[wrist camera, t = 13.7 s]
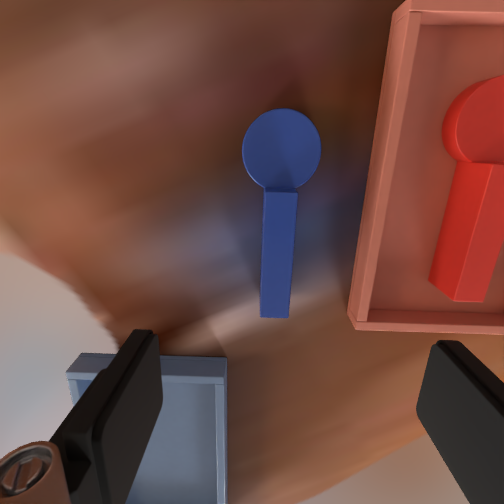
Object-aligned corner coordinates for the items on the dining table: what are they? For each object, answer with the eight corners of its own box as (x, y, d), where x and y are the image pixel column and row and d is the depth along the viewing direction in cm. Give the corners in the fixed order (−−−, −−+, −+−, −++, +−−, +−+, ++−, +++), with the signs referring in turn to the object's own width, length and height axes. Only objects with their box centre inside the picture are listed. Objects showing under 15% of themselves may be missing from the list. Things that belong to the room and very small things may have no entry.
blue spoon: (303, 296, 19) (309, 319, 17) (240, 295, 19) (238, 317, 17) (320, 111, 16) (332, 105, 13) (243, 109, 16) (241, 103, 13)
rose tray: (392, 12, 14) (411, -7, 12) (611, 17, 14) (663, -1, 12) (346, 313, 20) (355, 330, 18) (503, 318, 20) (528, 335, 18)
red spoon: (473, 281, 18) (506, 303, 16) (407, 279, 18) (430, 301, 16) (534, 80, 15) (590, 67, 12) (452, 78, 15) (491, 65, 12)
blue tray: (81, 352, 21) (64, 371, 19) (227, 357, 21) (224, 377, 19) (112, 504, 27) (101, 530, 25) (227, 508, 26) (225, 534, 25)
